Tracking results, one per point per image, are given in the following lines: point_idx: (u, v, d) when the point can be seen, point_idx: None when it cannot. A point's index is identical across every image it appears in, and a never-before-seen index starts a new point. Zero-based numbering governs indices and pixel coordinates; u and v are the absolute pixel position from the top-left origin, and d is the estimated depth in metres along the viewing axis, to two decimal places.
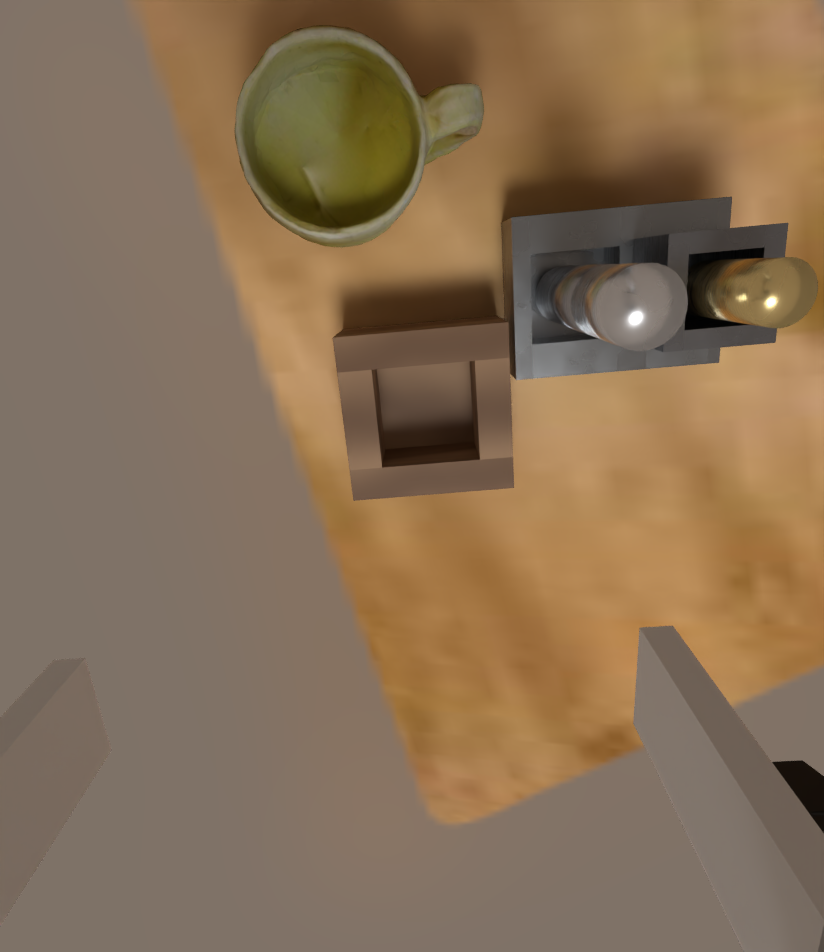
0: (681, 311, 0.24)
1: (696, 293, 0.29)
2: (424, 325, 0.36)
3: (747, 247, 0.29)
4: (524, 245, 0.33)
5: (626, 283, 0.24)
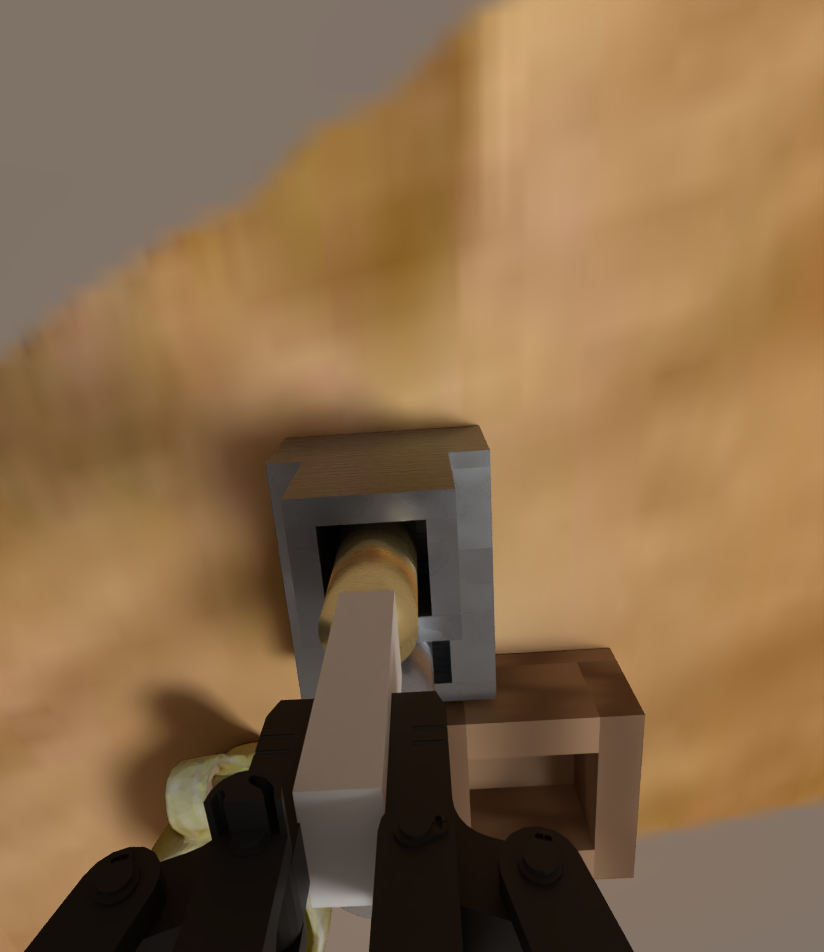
0: None
1: None
2: None
3: (316, 549, 0.20)
4: None
5: None
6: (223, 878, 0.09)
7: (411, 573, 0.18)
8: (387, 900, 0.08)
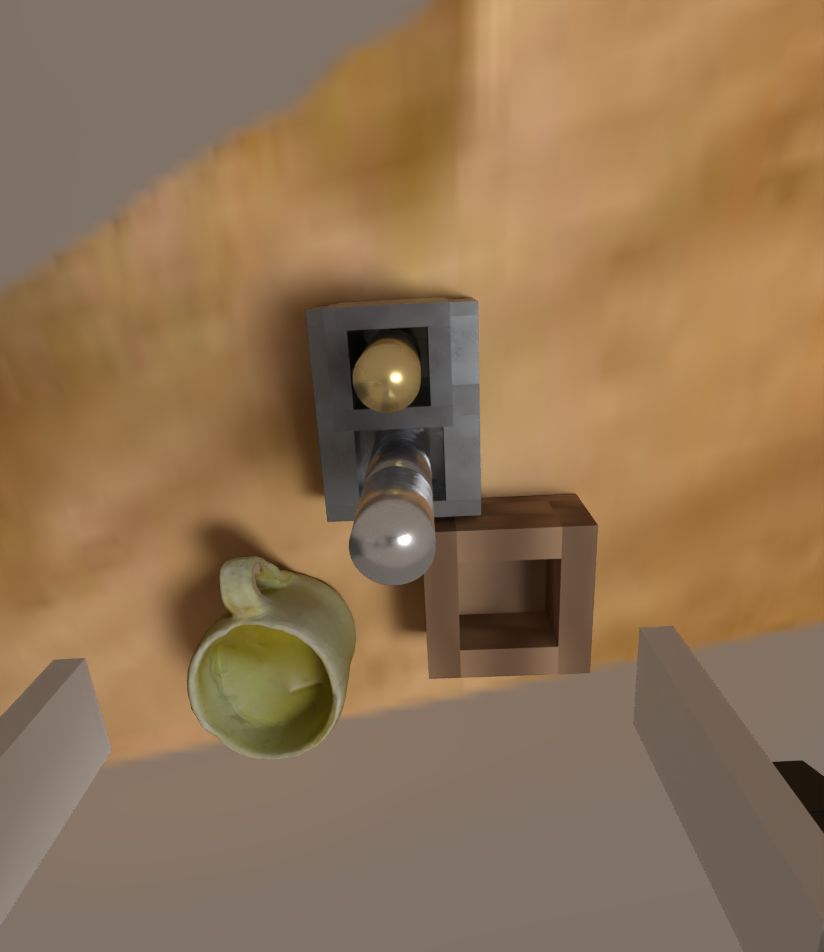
0: (396, 512, 0.23)
1: None
2: None
3: (347, 349, 0.27)
4: (351, 509, 0.35)
5: (368, 565, 0.24)
6: None
7: (416, 356, 0.26)
8: None
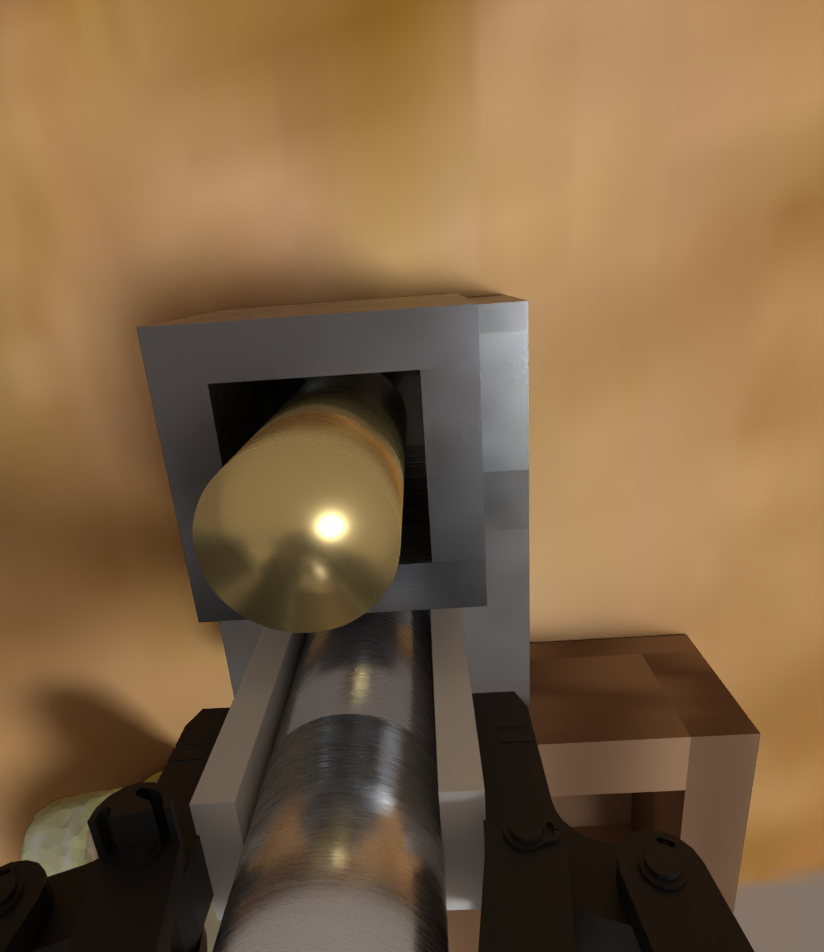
0: None
1: None
2: None
3: (212, 430, 0.10)
4: None
5: None
6: (112, 895, 0.09)
7: (391, 450, 0.10)
8: (497, 900, 0.08)
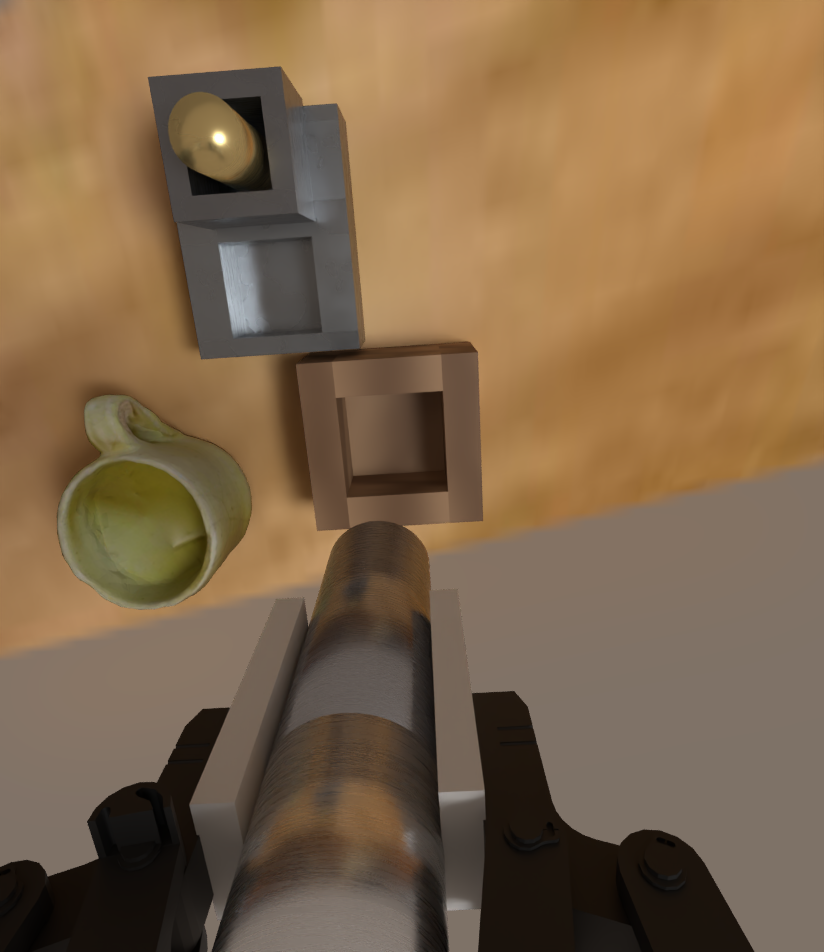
0: None
1: (244, 188, 0.28)
2: None
3: None
4: (225, 344, 0.33)
5: None
6: (112, 894, 0.09)
7: (247, 125, 0.25)
8: (496, 900, 0.08)
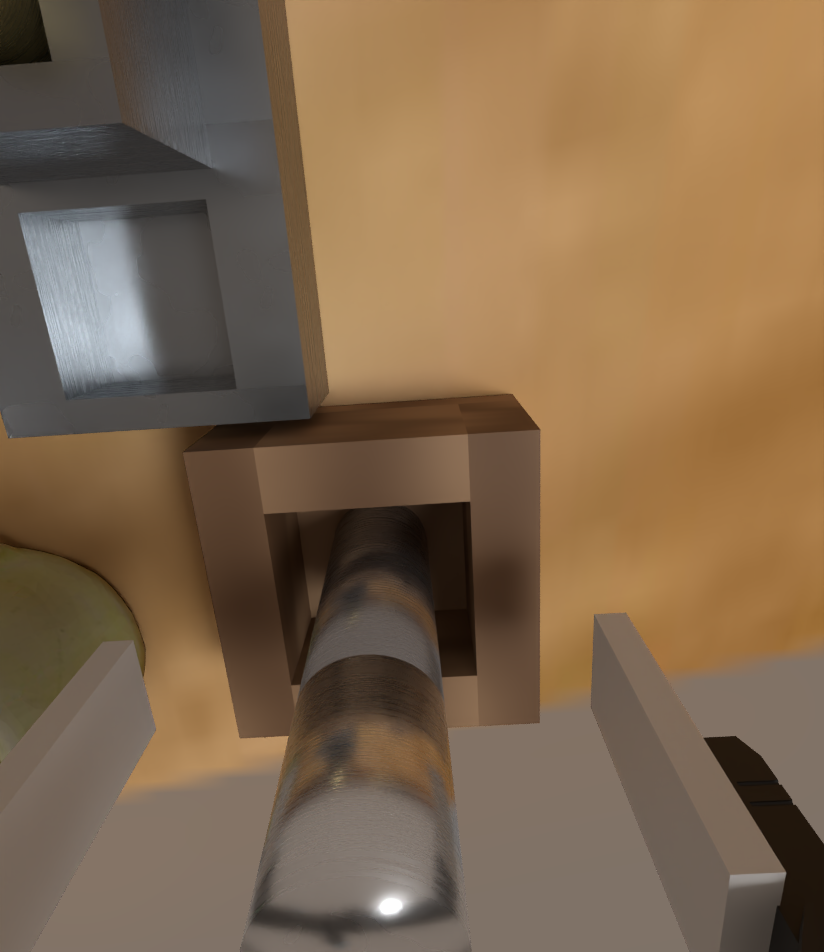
0: (364, 892, 0.08)
1: None
2: None
3: None
4: (51, 411, 0.17)
5: None
6: None
7: None
8: None
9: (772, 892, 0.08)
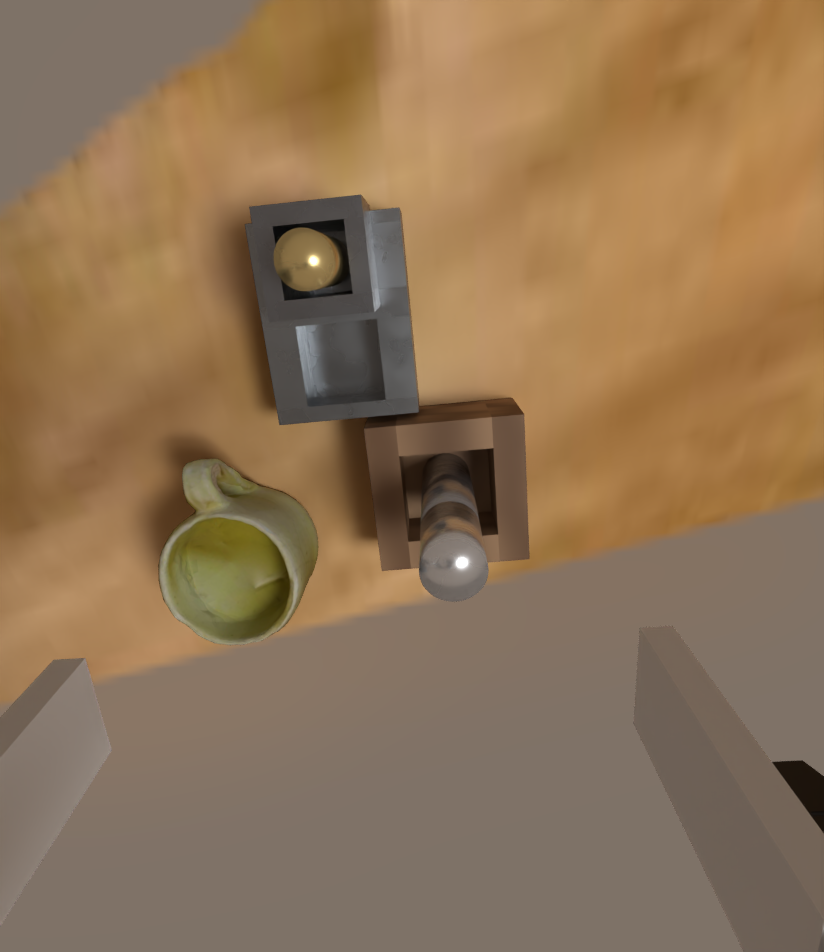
0: (456, 544, 0.29)
1: None
2: None
3: (274, 243, 0.30)
4: (300, 412, 0.38)
5: (434, 586, 0.30)
6: None
7: (334, 244, 0.30)
8: None
9: None
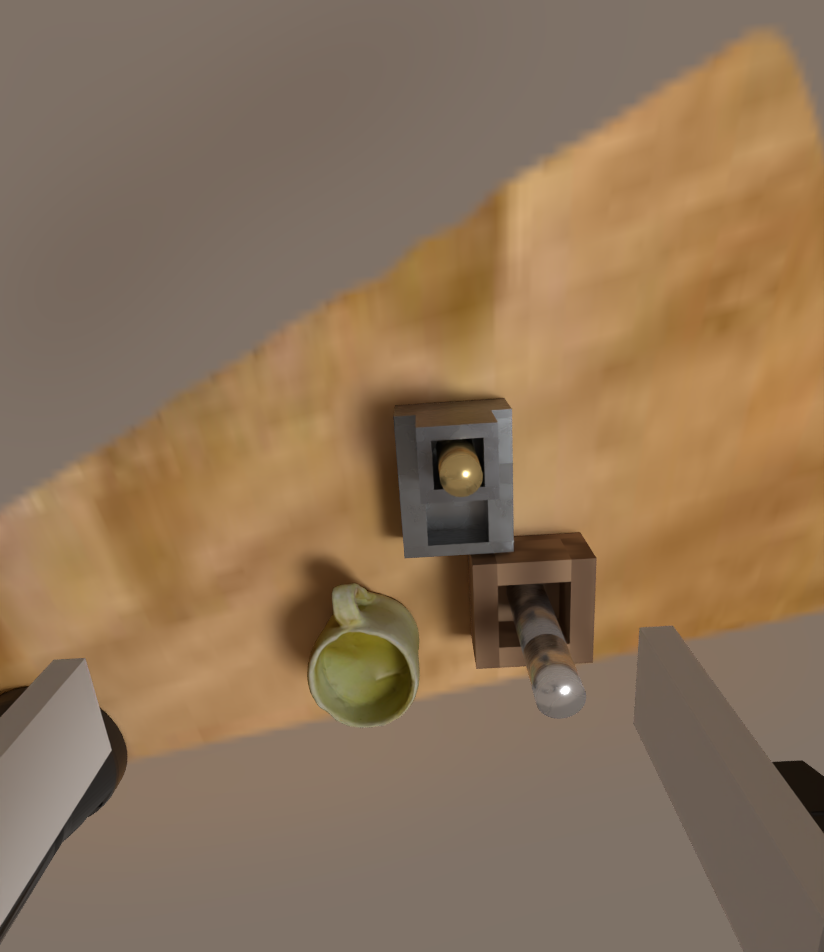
0: (564, 680, 0.40)
1: None
2: (471, 599, 0.53)
3: (430, 452, 0.41)
4: (422, 549, 0.49)
5: (546, 708, 0.41)
6: None
7: (477, 457, 0.41)
8: None
9: None
